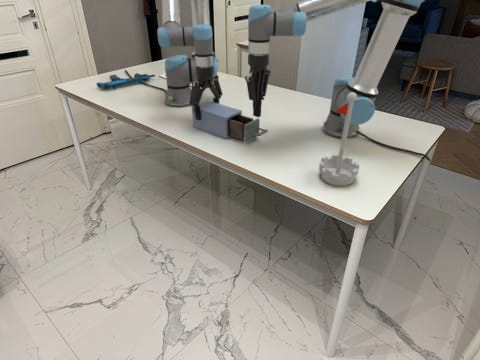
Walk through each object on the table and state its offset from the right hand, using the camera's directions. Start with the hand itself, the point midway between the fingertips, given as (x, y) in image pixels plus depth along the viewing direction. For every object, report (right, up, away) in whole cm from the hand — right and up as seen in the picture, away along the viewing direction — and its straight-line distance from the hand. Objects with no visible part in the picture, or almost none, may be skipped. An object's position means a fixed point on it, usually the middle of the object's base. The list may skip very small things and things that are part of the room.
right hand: (256, 115), depth 134 cm
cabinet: (-17, -2, +18) cm, 25 cm away
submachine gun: (-78, +35, +76) cm, 115 cm away
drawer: (-7, -6, +11) cm, 14 cm away
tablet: (-41, +39, +82) cm, 100 cm away
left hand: (-21, +4, +19) cm, 29 cm away
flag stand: (+27, -24, -16) cm, 40 cm away
